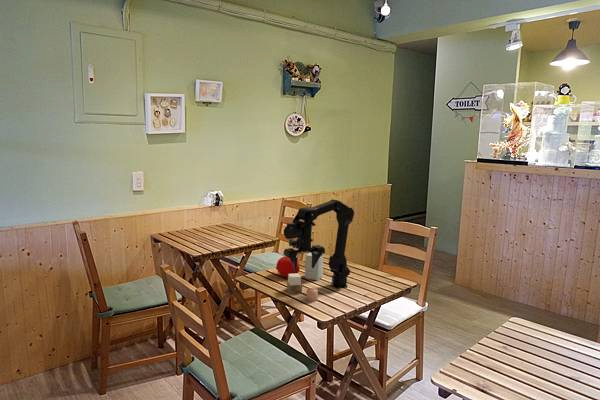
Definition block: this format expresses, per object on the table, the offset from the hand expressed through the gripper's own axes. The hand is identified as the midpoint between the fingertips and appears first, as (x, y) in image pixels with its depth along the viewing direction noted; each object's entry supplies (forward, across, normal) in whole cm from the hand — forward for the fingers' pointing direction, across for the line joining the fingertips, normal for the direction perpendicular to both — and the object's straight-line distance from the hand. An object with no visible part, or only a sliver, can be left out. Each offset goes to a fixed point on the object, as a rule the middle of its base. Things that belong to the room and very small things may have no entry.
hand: (303, 269), depth 190 cm
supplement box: (+13, -18, -20) cm, 29 cm away
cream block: (+9, +1, -7) cm, 11 cm away
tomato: (+13, -6, -27) cm, 31 cm away
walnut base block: (+13, +1, -7) cm, 14 cm away
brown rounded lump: (+13, -2, +6) cm, 14 cm away
